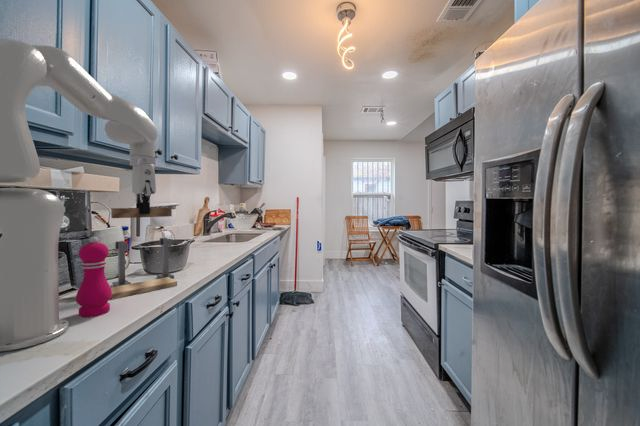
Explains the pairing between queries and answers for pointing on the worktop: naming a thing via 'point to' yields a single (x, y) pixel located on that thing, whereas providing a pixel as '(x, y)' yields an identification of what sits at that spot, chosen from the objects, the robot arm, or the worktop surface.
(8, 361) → the worktop surface
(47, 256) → the robot arm
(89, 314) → the pepper mill
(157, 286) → the oak board
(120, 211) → the walnut rail
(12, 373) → the worktop surface
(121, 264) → the hook stands
